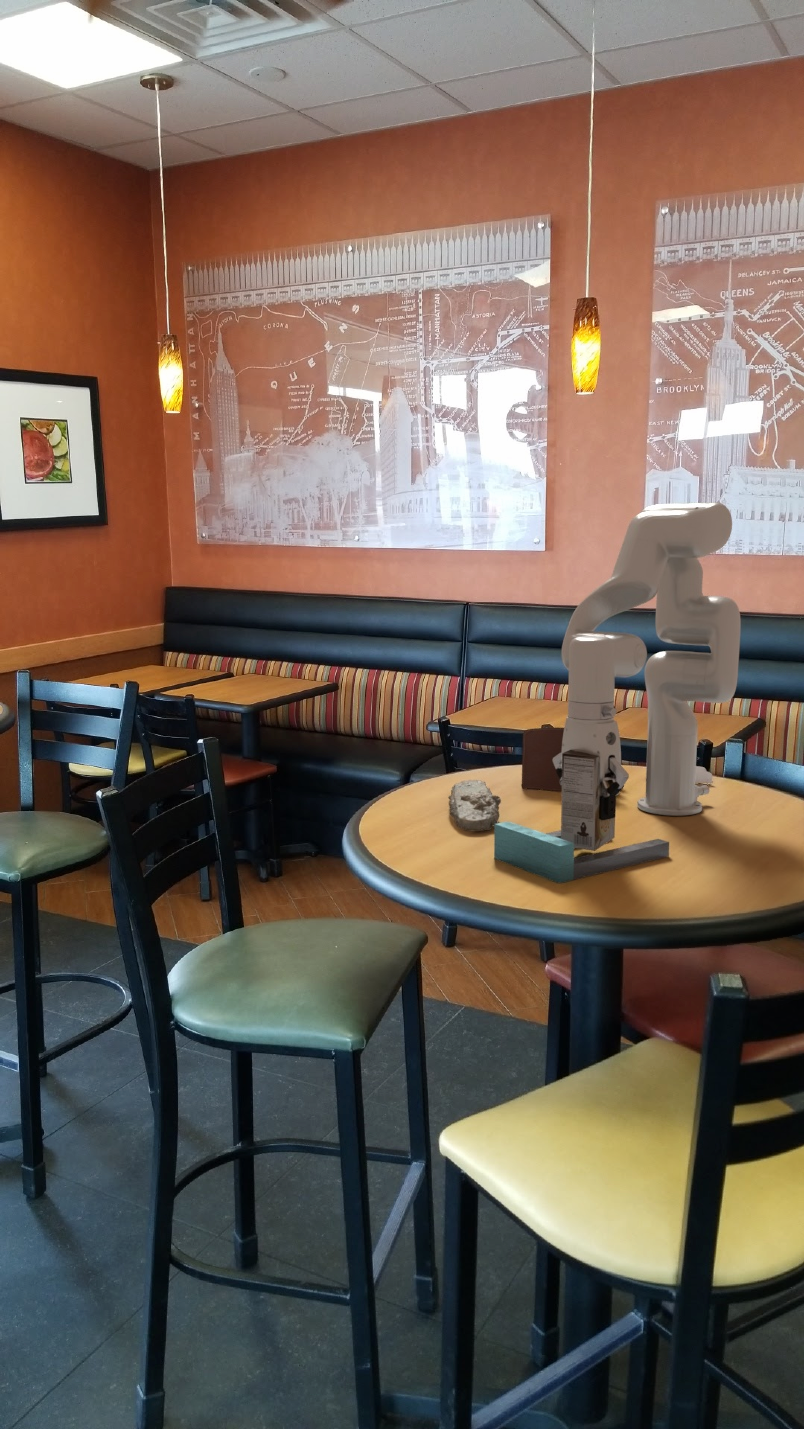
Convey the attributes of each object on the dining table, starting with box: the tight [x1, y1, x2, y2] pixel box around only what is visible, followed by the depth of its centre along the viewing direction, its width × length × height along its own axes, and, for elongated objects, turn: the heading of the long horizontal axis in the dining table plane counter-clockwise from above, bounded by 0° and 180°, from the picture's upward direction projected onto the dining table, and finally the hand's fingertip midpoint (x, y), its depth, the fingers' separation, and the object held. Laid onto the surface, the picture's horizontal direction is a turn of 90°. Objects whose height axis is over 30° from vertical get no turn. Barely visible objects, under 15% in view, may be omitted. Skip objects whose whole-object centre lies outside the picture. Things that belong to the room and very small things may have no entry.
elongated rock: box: [448, 779, 502, 832], centre depth 207 cm, size 35×5×10 cm
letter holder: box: [520, 726, 564, 793], centre depth 225 cm, size 10×20×14 cm, turn 69°
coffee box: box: [560, 750, 616, 852], centre depth 174 cm, size 9×6×16 cm
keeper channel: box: [493, 821, 670, 884], centre depth 175 cm, size 25×16×6 cm, turn 124°
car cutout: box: [695, 765, 714, 786], centre depth 231 cm, size 15×7×4 cm, turn 64°
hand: (588, 812), depth 175 cm, fingers closed on coffee box, 8 cm apart
